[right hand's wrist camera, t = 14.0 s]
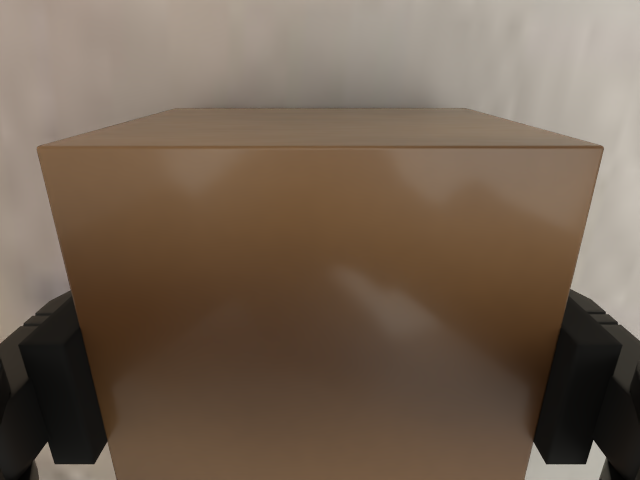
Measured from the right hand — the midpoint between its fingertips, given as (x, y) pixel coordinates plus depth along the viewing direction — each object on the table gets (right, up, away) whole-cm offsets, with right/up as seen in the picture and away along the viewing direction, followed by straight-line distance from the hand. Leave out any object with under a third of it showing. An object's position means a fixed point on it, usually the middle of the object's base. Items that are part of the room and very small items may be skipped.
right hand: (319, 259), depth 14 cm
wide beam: (0, -28, +12) cm, 31 cm away
